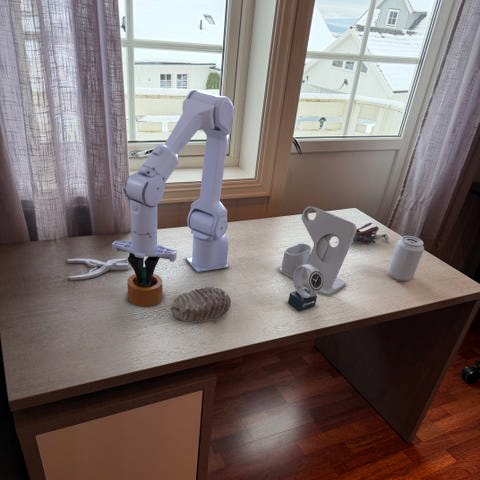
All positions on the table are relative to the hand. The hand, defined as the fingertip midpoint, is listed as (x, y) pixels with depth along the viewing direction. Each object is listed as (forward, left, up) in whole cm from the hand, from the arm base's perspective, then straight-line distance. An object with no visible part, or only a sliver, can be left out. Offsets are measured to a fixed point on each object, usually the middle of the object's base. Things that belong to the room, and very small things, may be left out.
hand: (145, 281), depth 106 cm
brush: (0, 0, -4) cm, 4 cm away
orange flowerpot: (0, 0, -4) cm, 4 cm away
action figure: (-79, -10, -5) cm, 80 cm away
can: (-74, +13, -4) cm, 75 cm away
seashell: (-10, +11, -4) cm, 15 cm away
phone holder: (-47, +5, -4) cm, 48 cm away
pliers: (+7, -17, -4) cm, 19 cm away
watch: (-36, +16, -5) cm, 40 cm away
